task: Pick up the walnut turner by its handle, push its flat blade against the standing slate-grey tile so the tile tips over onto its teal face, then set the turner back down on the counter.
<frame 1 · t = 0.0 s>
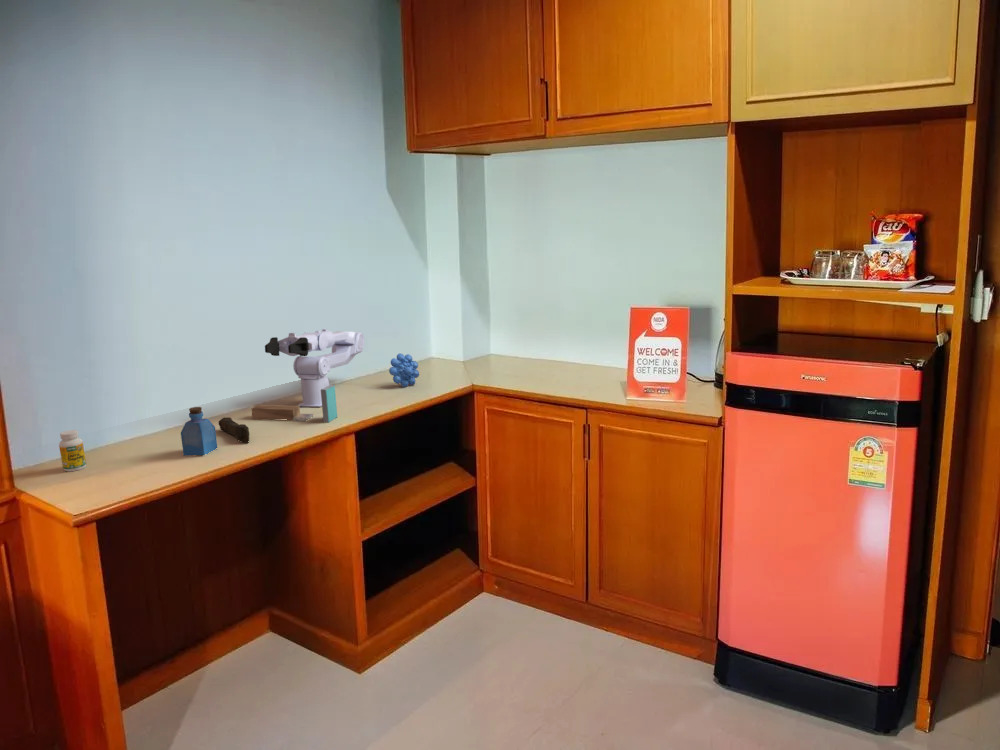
hand: (277, 349, 242), 22 cm above the worktop, tool horizontal, fingers open, 7 cm apart
tile: (330, 419, 245), on the worktop
grapes: (406, 388, 283), on the worktop
perfume bottle: (200, 452, 219), on the worktop
turner: (276, 418, 250), on the worktop
supplement bottle: (75, 469, 209), on the worktop
hand tool: (238, 437, 232), on the worktop
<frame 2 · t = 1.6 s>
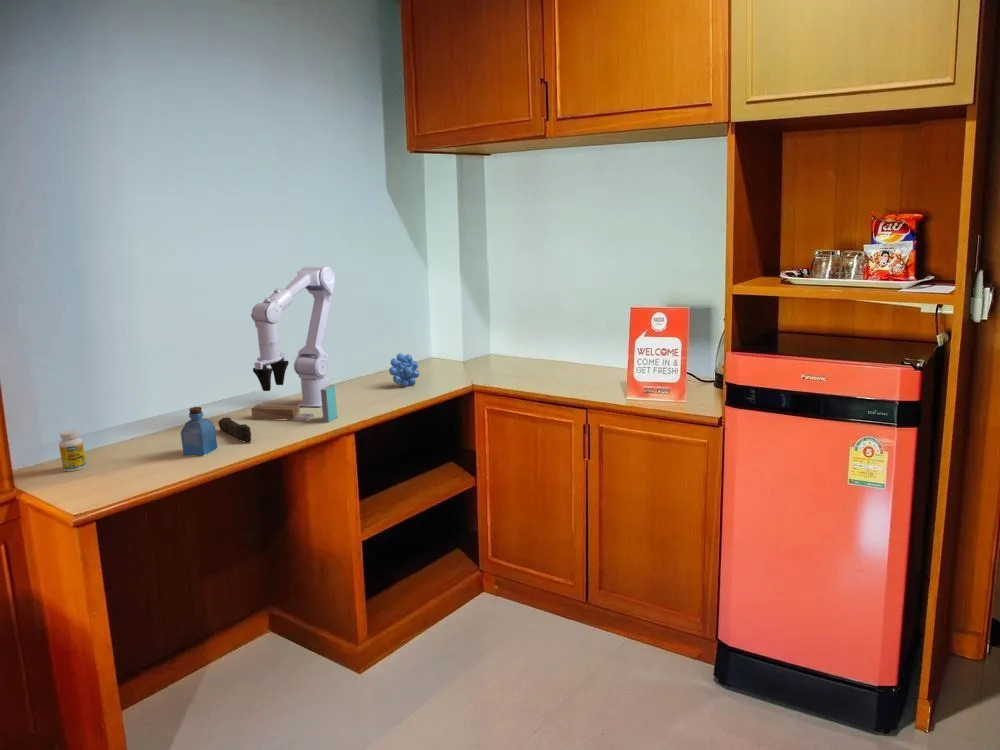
hand: (273, 387, 248), 9 cm above the worktop, tool pointing down, fingers open, 7 cm apart
nothing on the worktop moved.
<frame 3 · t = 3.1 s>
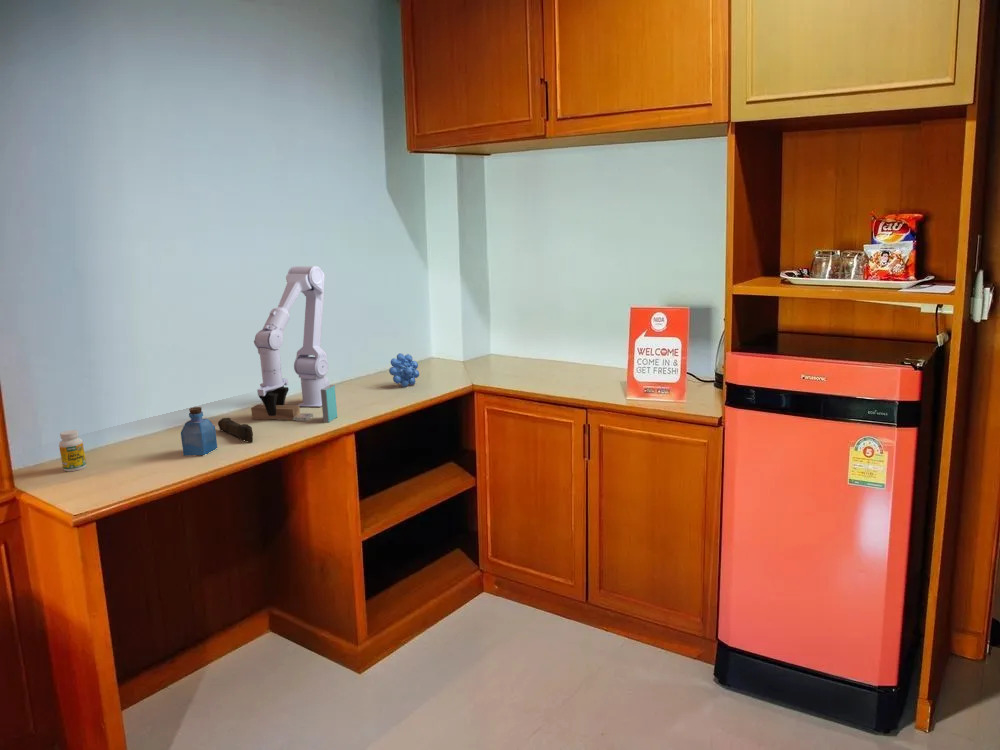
hand: (275, 413, 250), 1 cm above the worktop, tool pointing down, fingers closed on turner, 4 cm apart
turner: (276, 417, 250), on the worktop, touching gripper
everything else where it was.
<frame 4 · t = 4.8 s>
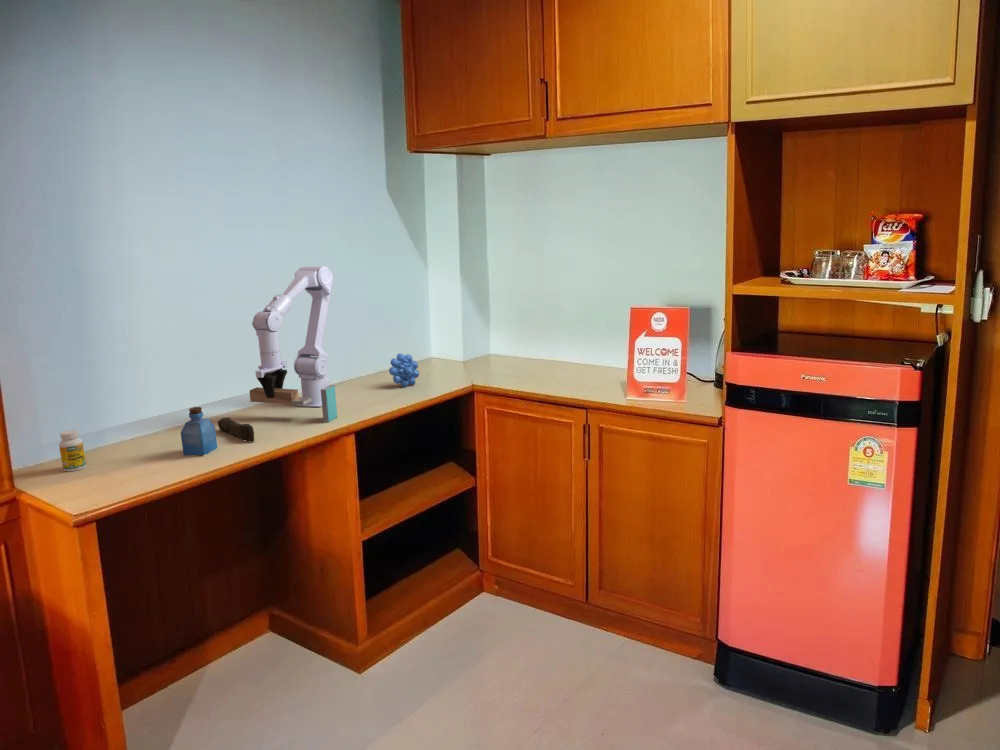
hand: (274, 395, 248), 7 cm above the worktop, tool pointing down, fingers closed on turner, 4 cm apart
turner: (274, 401, 249), point 5 cm above the worktop, touching gripper
everything else where it was.
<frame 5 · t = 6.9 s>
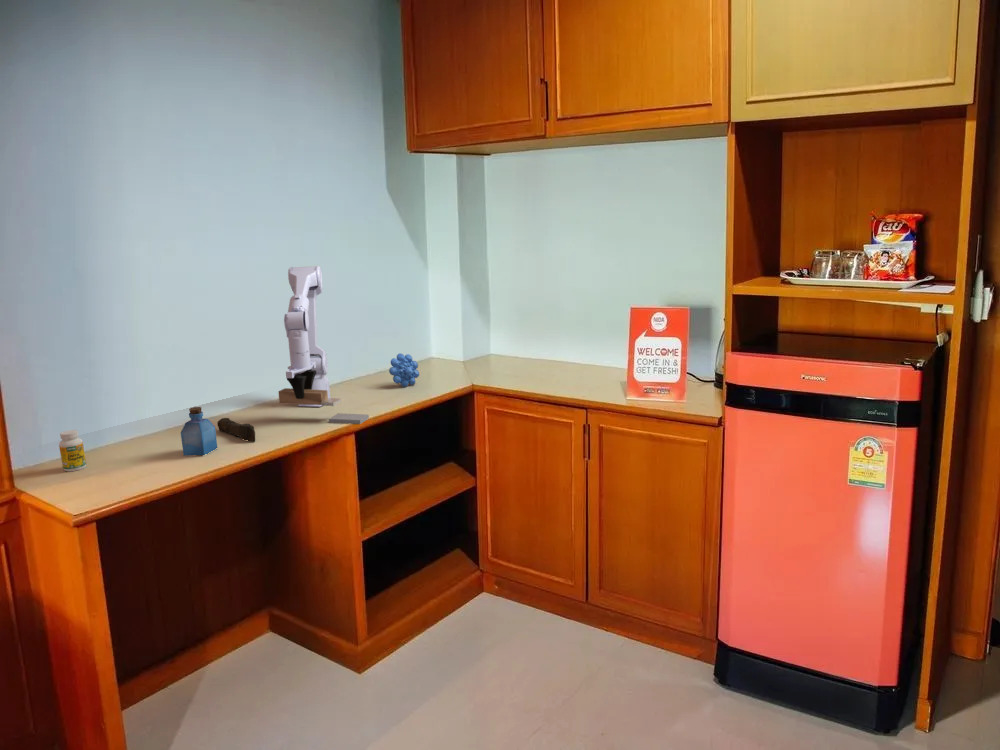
hand: (303, 396, 246), 7 cm above the worktop, tool pointing down, fingers closed on turner, 4 cm apart
tile: (333, 418, 245), on the worktop, tilted 90°
turner: (303, 402, 246), point 5 cm above the worktop, touching gripper
everything else where it was.
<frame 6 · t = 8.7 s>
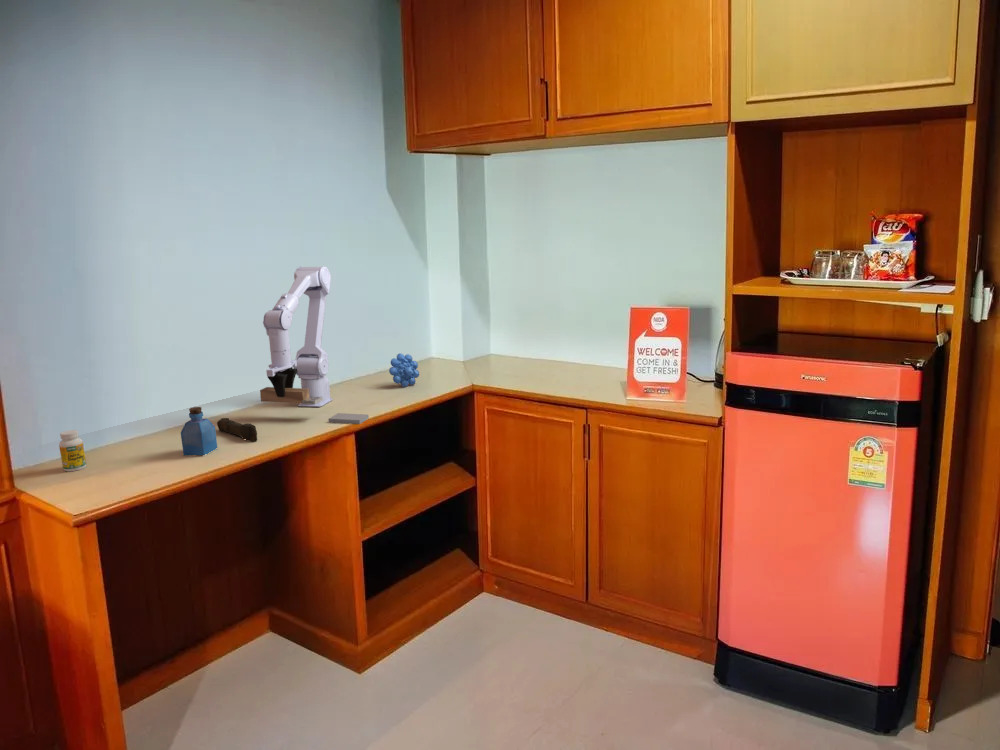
hand: (284, 394, 247), 7 cm above the worktop, tool pointing down, fingers closed on turner, 4 cm apart
turner: (285, 400, 248), point 5 cm above the worktop, touching gripper
when the fingers open (3 cm above the worktop, at t = 10.2 s): turner drops 1 cm, on the worktop.
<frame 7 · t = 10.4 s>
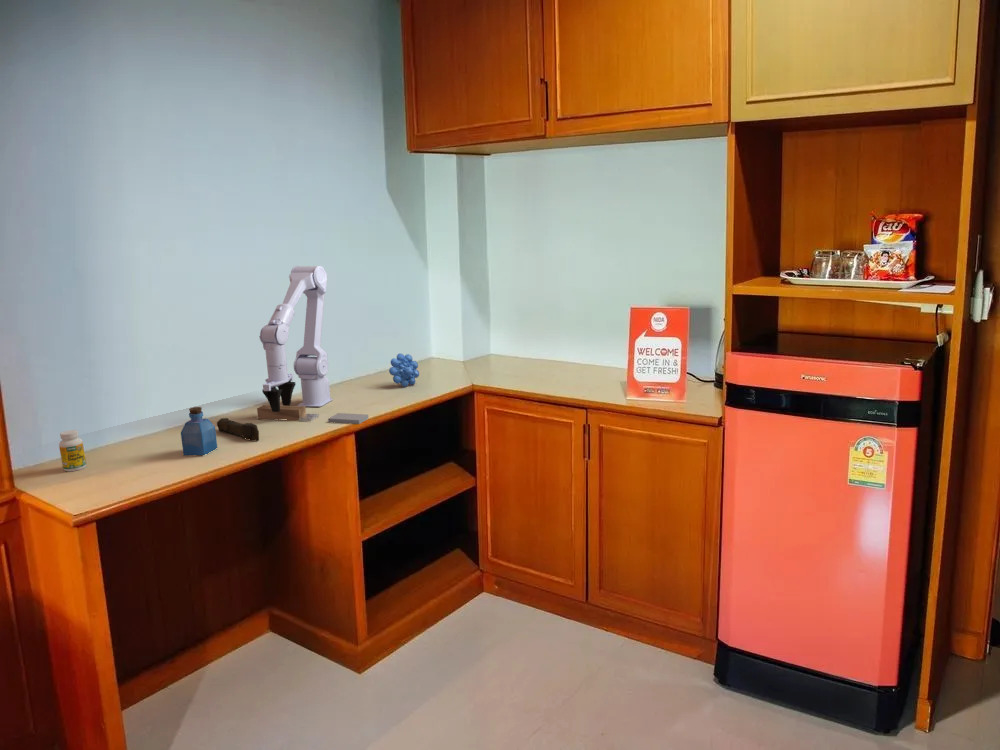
hand: (281, 408, 249), 3 cm above the worktop, tool pointing down, fingers open, 6 cm apart
turner: (282, 418, 249), on the worktop
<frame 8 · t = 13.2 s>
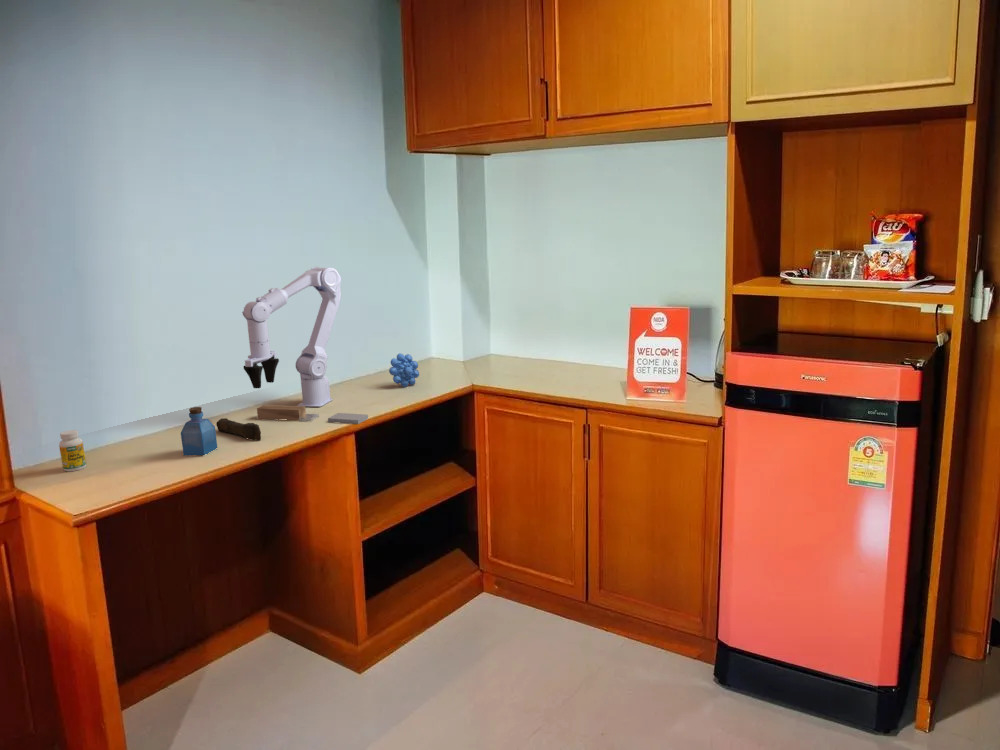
hand: (263, 385, 252), 9 cm above the worktop, tool pointing down, fingers open, 7 cm apart
at the end: tile tilted 90°; the gripper is holding nothing; turner touching worktop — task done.
